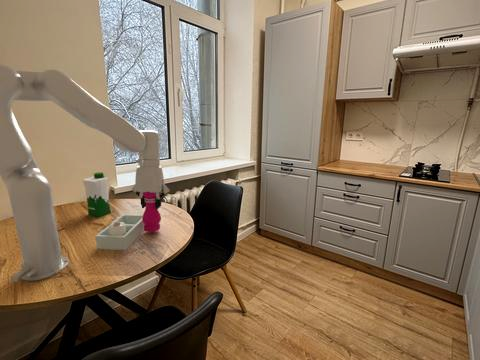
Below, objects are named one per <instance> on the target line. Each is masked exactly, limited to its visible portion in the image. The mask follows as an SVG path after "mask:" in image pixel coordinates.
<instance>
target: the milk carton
mask: <svg viewBox="0 0 480 360" xmlns="http://www.w3.org/2000/svg"><path fill="white" fill-rule="evenodd" d="M93 175H94V176H91V177H88V178H84V179H82V182H83V187H84V188H85V189H84V190H85V194H86V195H85V196H86V202H87V214H88V216H91V217H94V218H100V217H103V216H106V215H109V214H110V213H112V211H111V206H110V200H109V191H108V183H109V182H108V181H109V178H108V177H106V176H104V175H105V174H104V172H95V173H93Z"/></svg>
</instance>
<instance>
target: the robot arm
mask: <svg viewBox="0 0 480 360" xmlns="http://www.w3.org/2000/svg"><path fill="white" fill-rule="evenodd" d="M13 101H20V102H21V101H25V102H27V101H28V102H29V101H31V102H43V101H44V102H45V101H48V102H49V101H50V102H53V103H54V104H55V105H57V106H59V108H61V109H63V110H64V111H66V112H67V113H68V114H70V115H71V116H72V117H74V119H75V118H76V119H77V120H78V121H79V122H80V123H81V124H84V125H86V126H87V127H90V129H91V128H92V129H94V130H97V131H99V132H101V133H102V134H105V135H106V136H108V137H109V138H111V139H113V140H112V142H113V143H114V146H116V148H117V149H119V150H122V151H125V152H129V153H133V154H137V153H138V158H137V159H135V163H136V164H138V165H137V166H136V169H135V170H136V172H135V178H134V179H135V180H134V181H135V182H134V185H133V187H131V190H132V192H133V193H135V195H137V196H138V197H139V200H140V206H141V208H142V209H145V208H146V202H145V201H144V200H145V199H144V198H145V196H144V195H143V192H147V191H148V192H151V193H156V197H157V199H156V209H158V210H159V209H160V208H161V206H162V198H163V197H164V196H165V195H166V194H167V193H169V192H170V189H169V187H168V186H167V185H166V184H165V179H164V172H163V168H162V166H161V165H160V163H161V162H160V161H161V160H160V140H159V139H160V137H159V136H160V135H159V133H158V131H156V130H152V129H151V130H150V129H148V130H146V129H144V130H139V129H137V127H135V126H134V125H132V123H130V122H129V121H127V120H126V119H125V118H124V117H122V116H121V115H119V114H118V113H116V112H115V111H114V110H112V109H111V108H109V107H107V106H106V105H104V104H103V103H101V102H100V101H99V100H98V99H96V98H95V97H94V96H93V95H91V94H90V93H89V92H88V91H86V90H85V89H84V88H83V87H82V86H80V85H79V84H78V83H77V82H75V81H74V80H73V79H72V78H71V77H69V76H68V75H66V74H65V73H64V72H62V71H60V70H57V69H46V70H43V71H26V70H25V71H24V70H16V69H14V68H12V67H10V66H8V65H5V64H1V63H0V178H1V179H2V181H3V183H4V184H5V187H6V189H7V194H8V197H9V202H10V206H11V211H12V216H13V220H14V225H15V229H16V232H17V238H18V242H19V243H18V244H19V247H20V252H21V256H22V261H23V262H22V263H21V264H20V267H21V268H20V269H19V271H18V272H16V273H15V274H14V275H12V276H10V280H11V281H12V282H13V283H16V282H18V281H19V280H23V281H27V282H33V281H42V280H45V279H48V278H51V277H54V276H56V275H58V274H59V272H60V271H61V270H62V269H64V268H65V267H66V266H68V264H69V258H68V257H66V256H64V255H62V249H61V243H60V238H59V232H58V226H57V221H56V216H55V215H56V214H55V209H54V199H53V190H52V186H51V184H50V182H49V180H48V178H46V176H45V175H43V174H42V172H41V169H40V167H39V166H38V164H37V162H36V159H35V157H34V155H33V150H32V148H31V146H30V145H31V144H30V143H28V141H27V139H26V138H25V136H24V133H23V132H22V130H21V127H20V126H19V124H18V121H17V119H16V117H15V114H14V112H13V108H12V104H13Z"/></svg>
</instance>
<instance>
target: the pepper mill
mask: <svg viewBox="0 0 480 360" xmlns="http://www.w3.org/2000/svg"><path fill="white" fill-rule="evenodd" d="M143 195H144V196H145V198H144V199H145V200H144V201H145V202H146V207H144V212H143V214H142V215H143V217H142V221H143V223H144V224H145V225H144V231H145V232H146V233H147V232H148V233H152V232H153V233H154V232H155V233H156V232H158V231H159V230H160V229H161V224H160V222H161V220H162V216H161V213H160V211H159V209H156V199H157V197H156V193H151V192H148V191H147V192H143Z"/></svg>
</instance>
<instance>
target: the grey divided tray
mask: <svg viewBox="0 0 480 360" xmlns="http://www.w3.org/2000/svg"><path fill="white" fill-rule="evenodd" d="M142 217H143V214H126V213H125V214H124V213H123V214H121V215H120V216H119V217H117V218H116V219H115V220H114V221H112V223H114V222H116V221H119V222H123V223H125V227H126V234H125V235H124V236H110V234H109V225H107V226H106V227H105V228H104V229H103V230H101V231H100V232H98V233H97V234H96V235H95V243H96V249H97V250H115V251H116V250H118V251H122V250H123V251H126V250H128V248H129V247H130V246H131V245H132V244H133V243H134V242H135V241H136V240H137V239H138V238H139V237H140V236H141V234H142V233H144V231H145V230H144V225H145V224H144V223H143V221H142ZM112 223H110V224H112Z"/></svg>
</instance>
